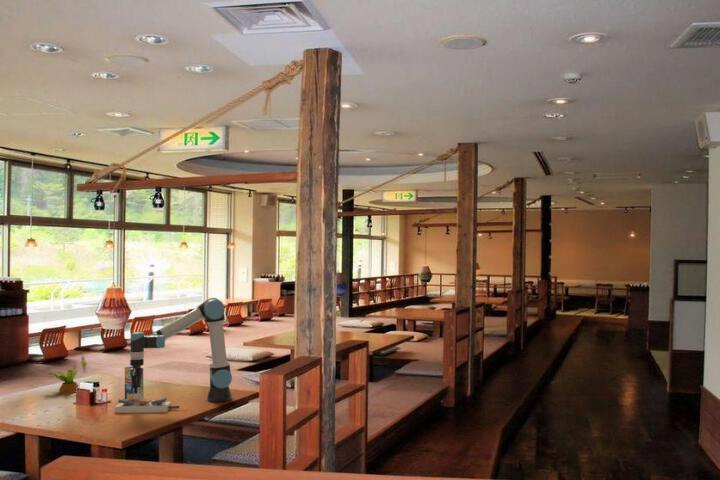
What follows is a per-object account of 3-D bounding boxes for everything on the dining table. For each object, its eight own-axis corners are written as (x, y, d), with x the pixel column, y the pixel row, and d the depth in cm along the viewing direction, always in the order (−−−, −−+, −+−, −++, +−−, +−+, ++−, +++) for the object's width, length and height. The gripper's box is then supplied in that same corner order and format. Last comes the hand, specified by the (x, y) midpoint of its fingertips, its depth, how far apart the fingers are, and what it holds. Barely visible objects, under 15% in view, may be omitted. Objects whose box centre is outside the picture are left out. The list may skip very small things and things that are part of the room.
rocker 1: (134, 403, 399) (134, 400, 399) (131, 405, 395) (132, 401, 395) (120, 400, 399) (121, 397, 399) (118, 402, 395) (118, 399, 395)
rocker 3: (166, 400, 400) (166, 396, 400) (164, 401, 395) (164, 398, 395) (153, 403, 399) (152, 399, 399) (151, 404, 395) (150, 401, 395)
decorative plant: (83, 394, 441) (83, 356, 441) (44, 396, 436) (43, 358, 436) (90, 386, 468) (90, 350, 468) (52, 388, 462) (52, 351, 462)
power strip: (181, 407, 404) (181, 400, 404) (176, 412, 393) (176, 404, 393) (121, 408, 404) (121, 400, 404) (114, 412, 393) (114, 405, 393)
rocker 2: (150, 402, 399) (150, 399, 399) (148, 404, 395) (148, 400, 395) (136, 401, 399) (137, 397, 399) (134, 402, 395) (134, 399, 395)
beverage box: (133, 406, 409) (132, 369, 409) (124, 403, 417) (124, 367, 417) (143, 404, 414) (143, 368, 414) (135, 401, 422) (134, 366, 422)
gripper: (134, 356, 404) (133, 396, 404) (126, 360, 391) (126, 401, 390) (146, 356, 404) (145, 396, 404) (139, 360, 391) (139, 401, 391)
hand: (136, 398), depth 397 cm, fingers closed
